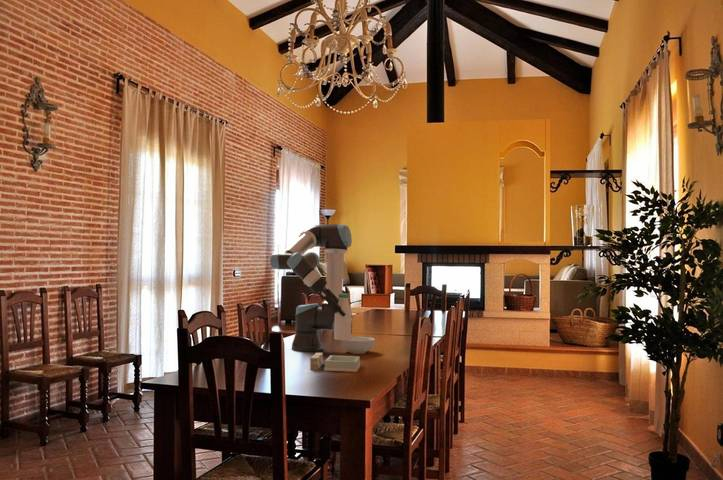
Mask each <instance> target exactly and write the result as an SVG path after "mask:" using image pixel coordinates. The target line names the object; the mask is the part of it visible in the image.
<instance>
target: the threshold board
mask: <svg viewBox="0 0 723 480" xmlns="http://www.w3.org/2000/svg"><path fill="white" fill-rule="evenodd" d="M322 365H324V352H315V354H313V355H312V356H311V357H310V369H309V370H310V371H318V370H319V369H320V368H321V366H322Z"/></svg>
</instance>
